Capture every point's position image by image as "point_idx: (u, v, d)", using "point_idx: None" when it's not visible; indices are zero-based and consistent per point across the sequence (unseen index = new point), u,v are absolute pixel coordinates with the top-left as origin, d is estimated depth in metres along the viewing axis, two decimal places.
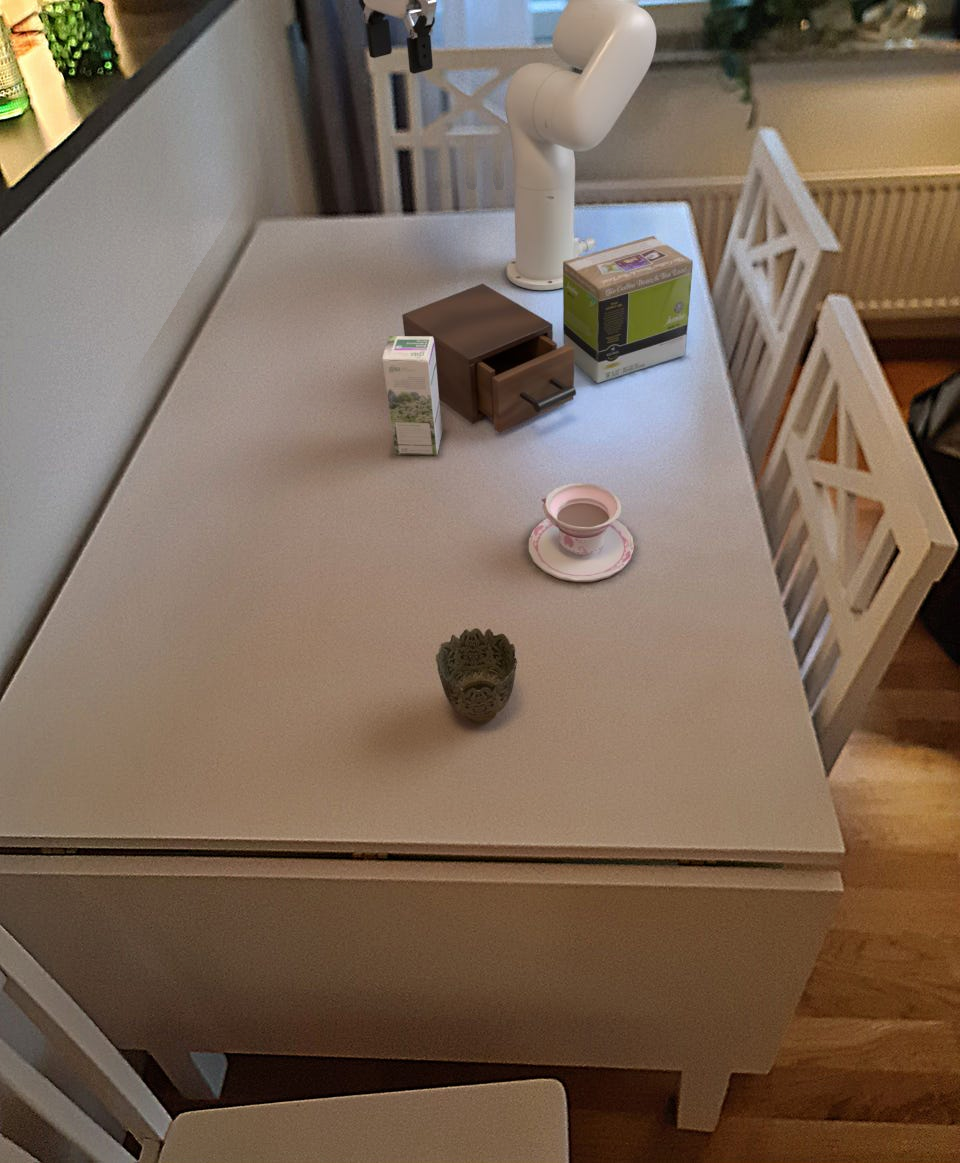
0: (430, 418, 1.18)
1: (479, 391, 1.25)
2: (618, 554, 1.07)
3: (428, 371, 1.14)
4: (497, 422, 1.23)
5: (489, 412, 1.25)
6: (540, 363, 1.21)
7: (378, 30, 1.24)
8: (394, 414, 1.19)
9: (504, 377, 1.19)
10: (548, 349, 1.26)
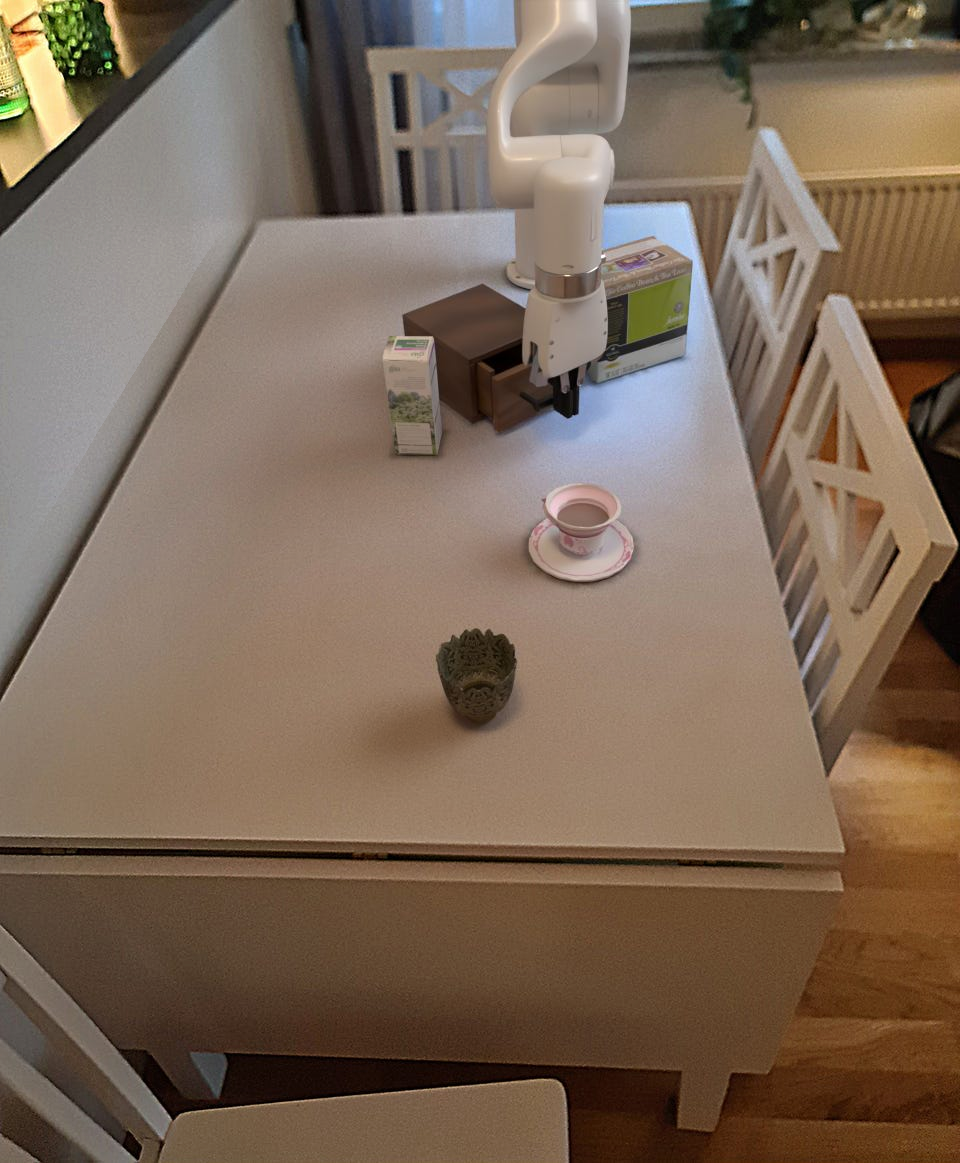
0: (430, 418, 1.18)
1: (479, 391, 1.25)
2: (618, 554, 1.07)
3: (428, 371, 1.14)
4: (497, 421, 1.23)
5: (489, 412, 1.25)
6: None
7: None
8: (394, 414, 1.19)
9: (504, 376, 1.19)
10: None
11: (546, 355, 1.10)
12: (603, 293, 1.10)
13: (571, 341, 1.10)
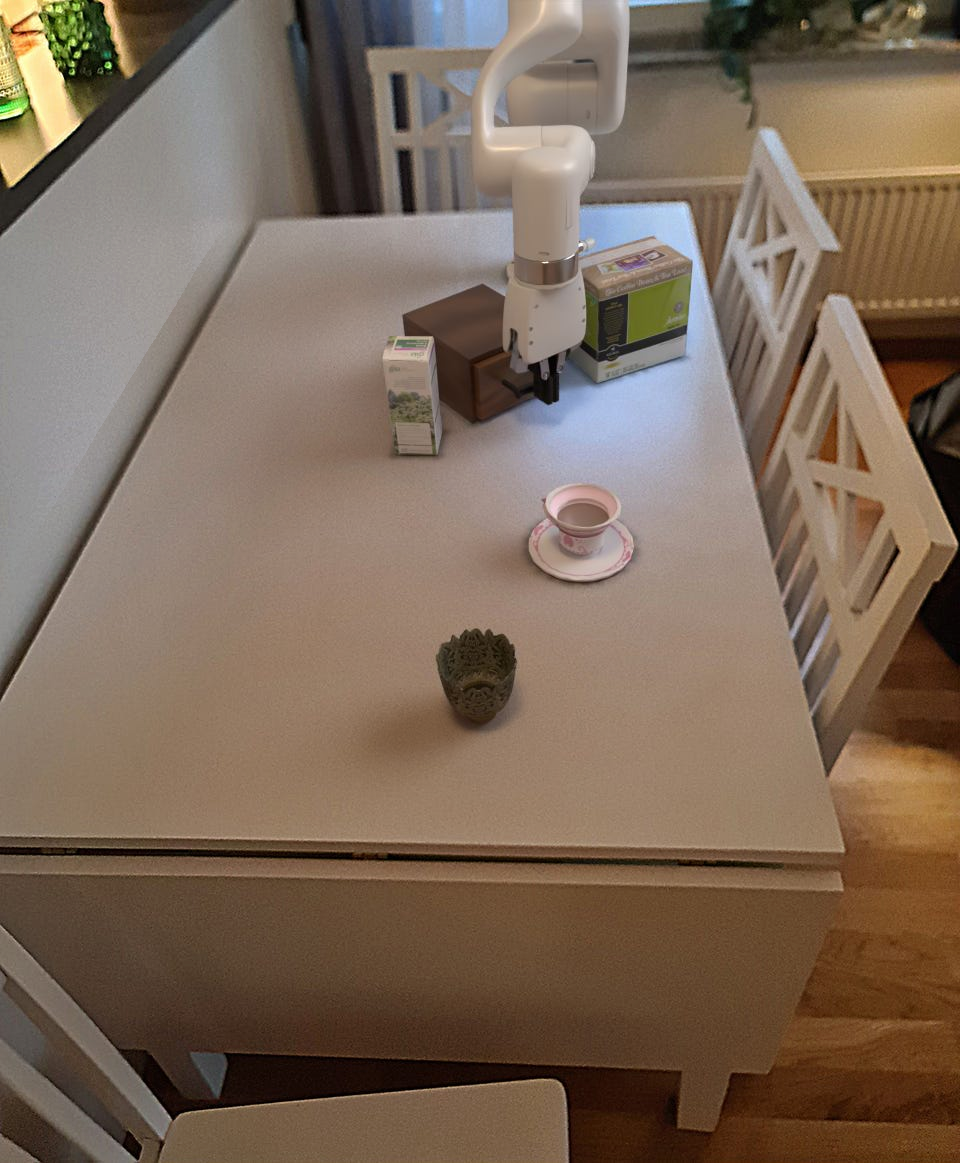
0: (430, 418, 1.18)
1: None
2: (618, 554, 1.07)
3: (428, 371, 1.14)
4: (479, 409, 1.25)
5: None
6: None
7: None
8: (394, 414, 1.19)
9: (485, 364, 1.21)
10: None
11: (525, 341, 1.12)
12: (581, 281, 1.12)
13: (550, 328, 1.13)
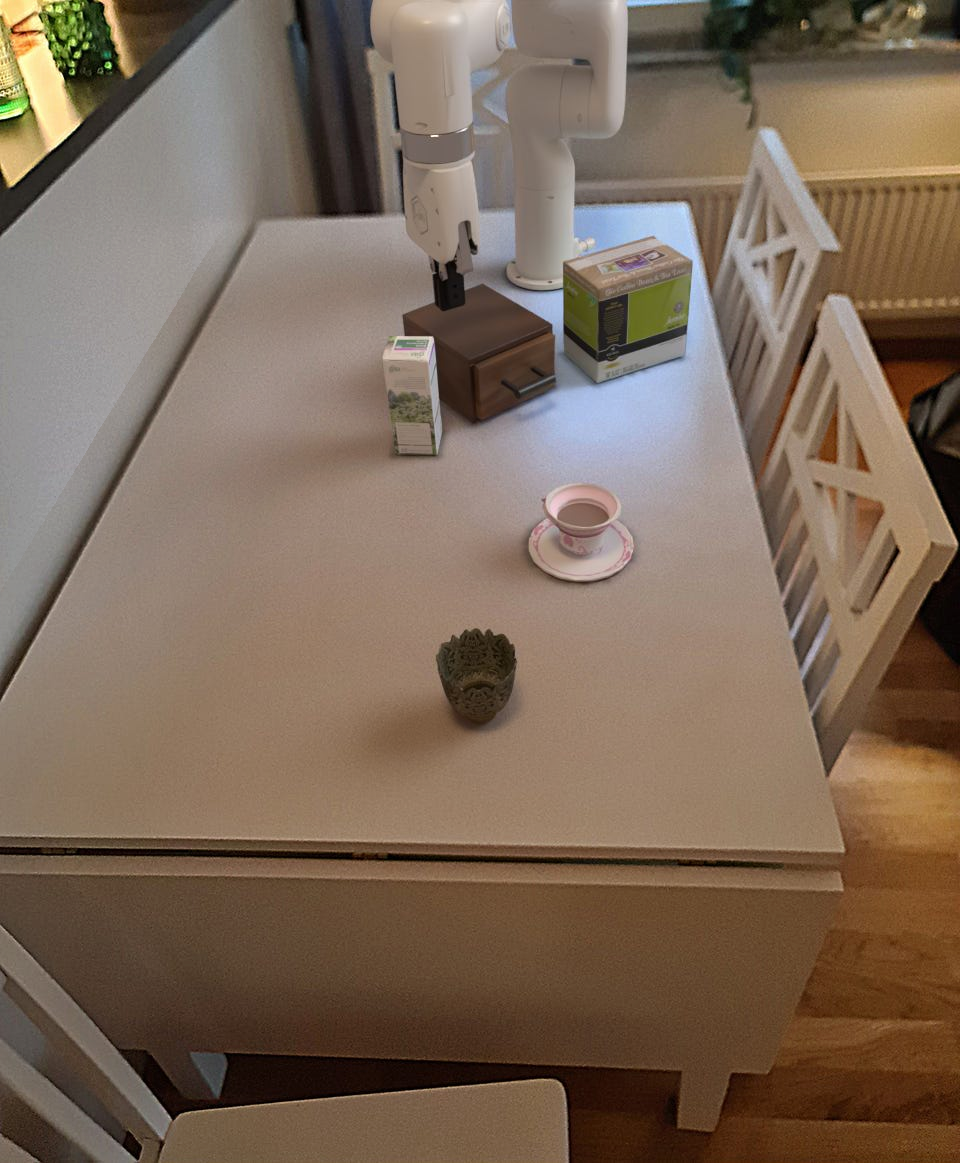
0: (430, 418, 1.18)
1: None
2: (618, 554, 1.07)
3: (428, 371, 1.14)
4: (479, 409, 1.25)
5: None
6: (521, 351, 1.24)
7: None
8: (394, 414, 1.19)
9: (485, 364, 1.21)
10: None
11: (479, 224, 1.01)
12: None
13: None
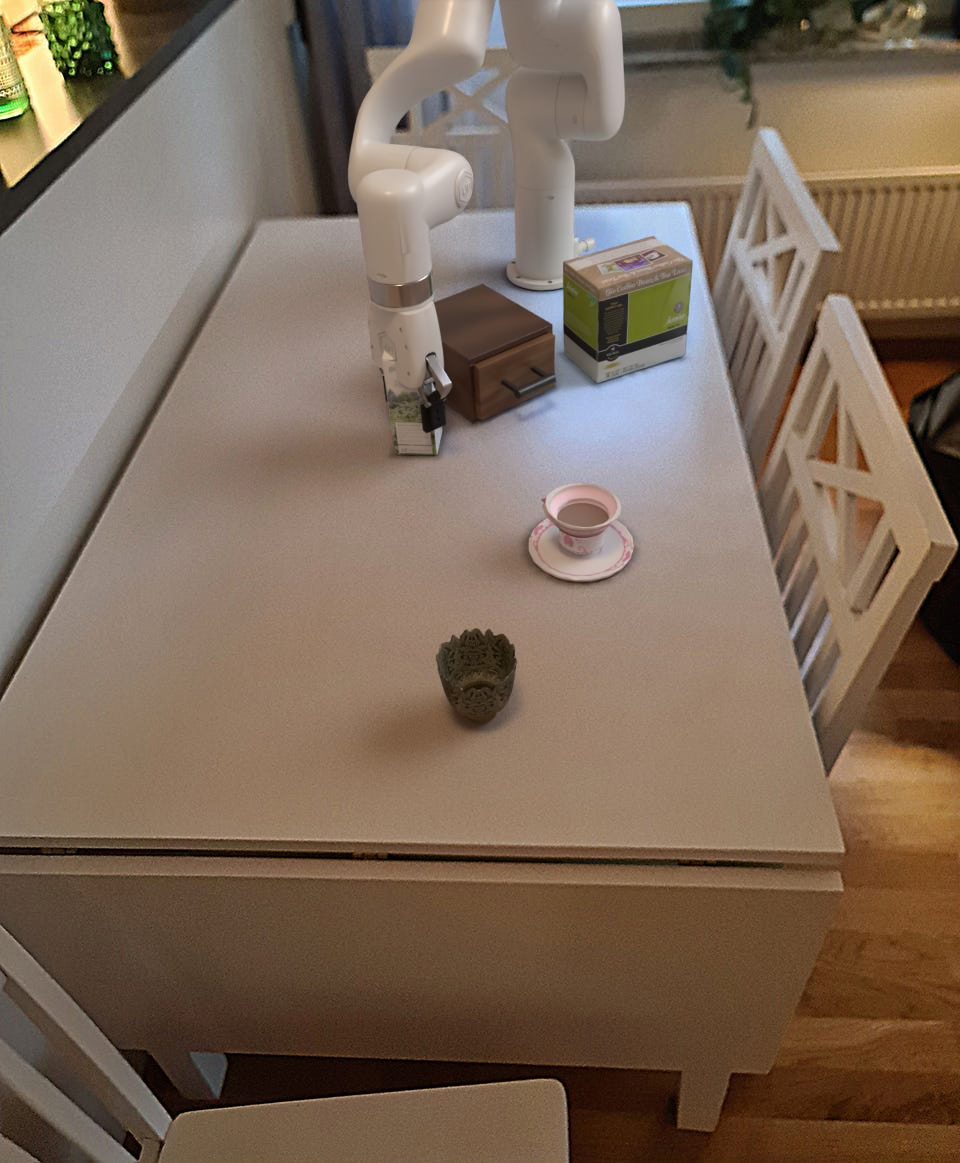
0: None
1: None
2: (618, 554, 1.07)
3: (428, 371, 1.14)
4: (479, 409, 1.25)
5: None
6: (521, 351, 1.24)
7: None
8: (394, 414, 1.19)
9: (485, 364, 1.21)
10: None
11: (442, 353, 1.12)
12: None
13: None
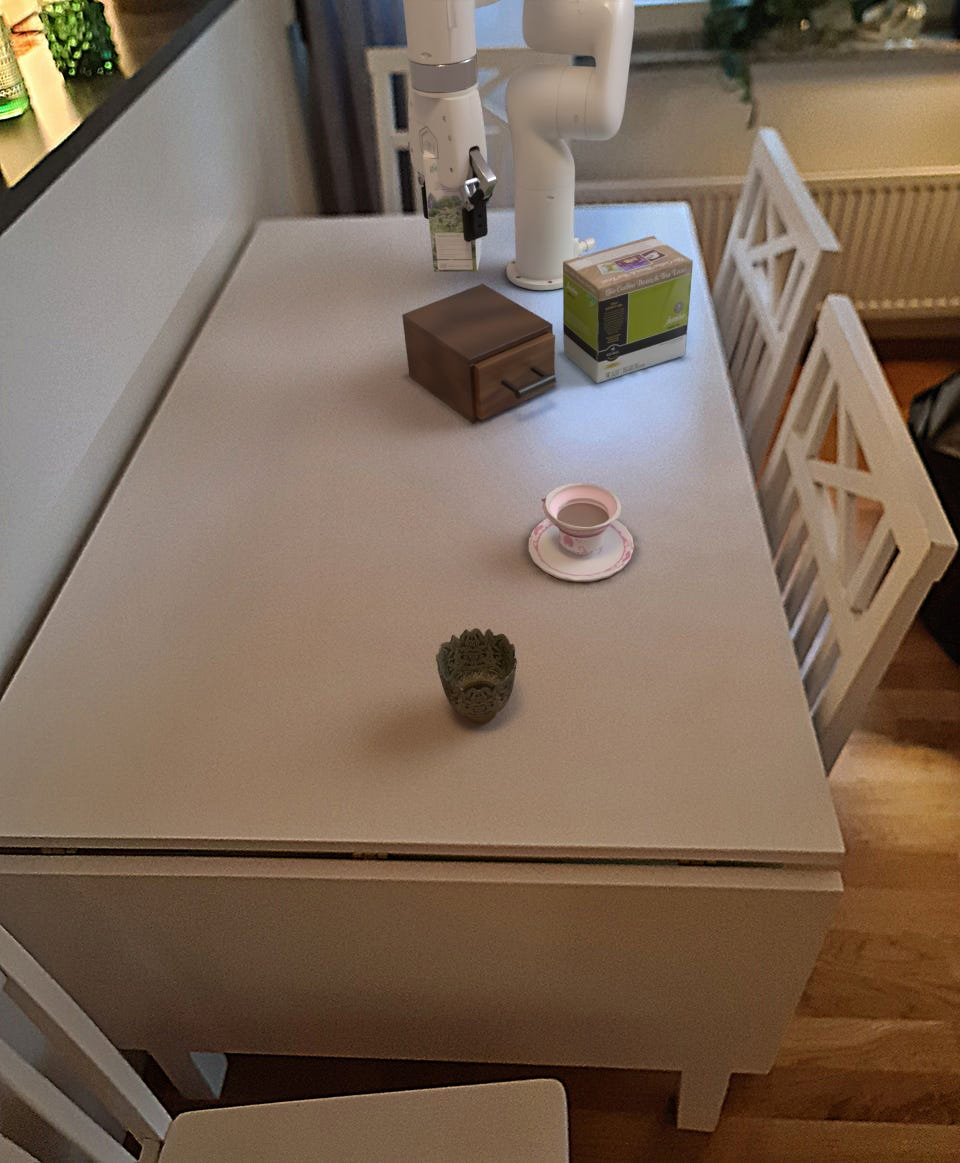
0: None
1: None
2: (618, 554, 1.07)
3: (470, 170, 1.10)
4: (479, 409, 1.25)
5: None
6: (521, 351, 1.24)
7: None
8: (434, 223, 1.15)
9: (485, 364, 1.21)
10: None
11: (486, 150, 1.09)
12: None
13: None
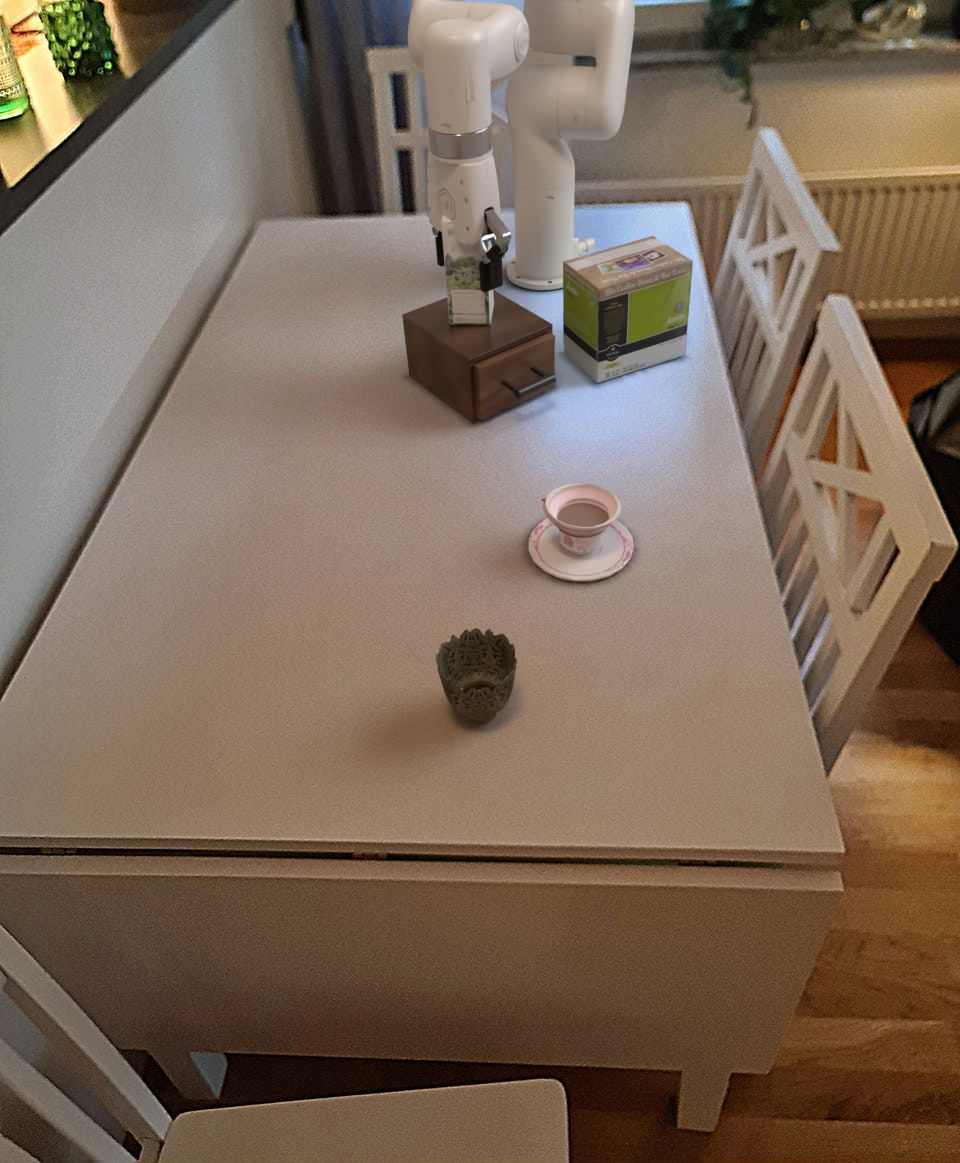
0: None
1: None
2: (618, 554, 1.07)
3: (485, 234, 1.18)
4: (479, 409, 1.25)
5: None
6: (521, 351, 1.24)
7: None
8: (450, 281, 1.23)
9: (485, 364, 1.21)
10: None
11: None
12: None
13: None
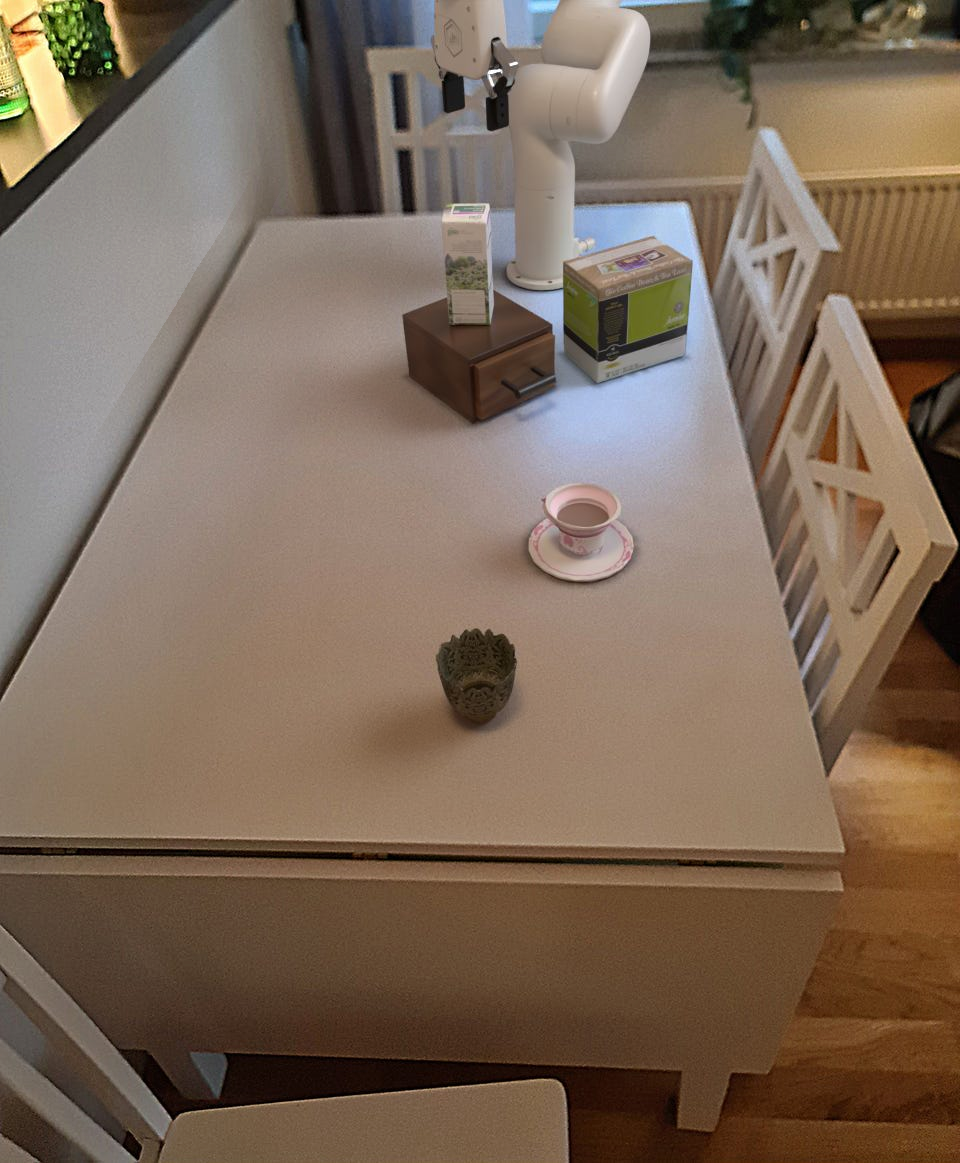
0: (486, 284, 1.22)
1: None
2: (618, 554, 1.07)
3: (485, 234, 1.18)
4: (479, 409, 1.25)
5: None
6: (521, 351, 1.24)
7: None
8: (450, 281, 1.23)
9: (485, 364, 1.21)
10: None
11: (506, 42, 1.17)
12: None
13: None
